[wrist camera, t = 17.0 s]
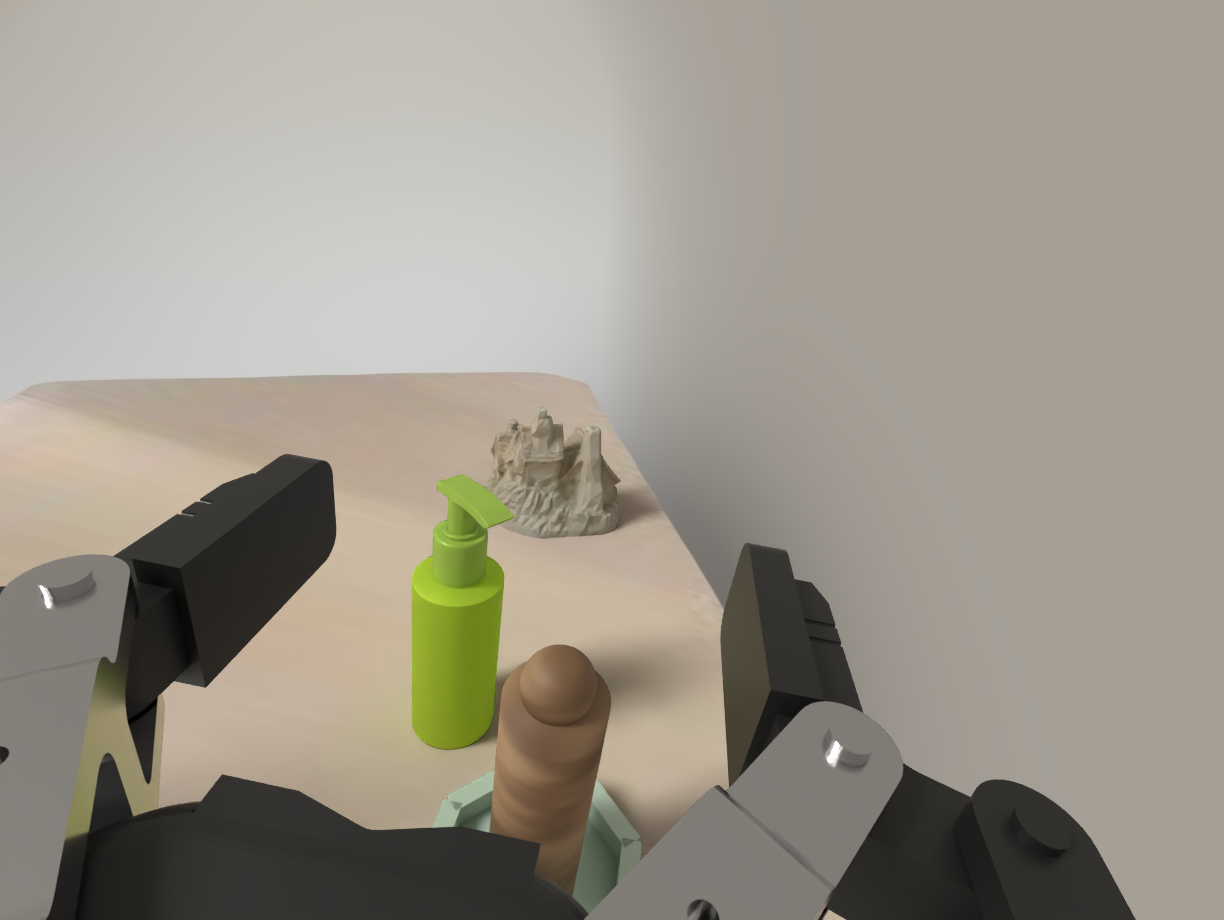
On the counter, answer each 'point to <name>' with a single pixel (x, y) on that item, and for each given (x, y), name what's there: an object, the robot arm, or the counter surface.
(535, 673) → the pepper mill
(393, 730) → the counter surface
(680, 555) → the counter surface
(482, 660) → the soap dispenser
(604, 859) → the dish
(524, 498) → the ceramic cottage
